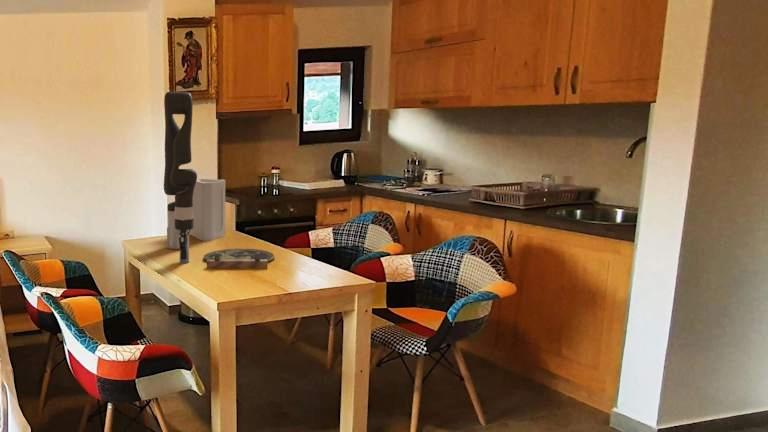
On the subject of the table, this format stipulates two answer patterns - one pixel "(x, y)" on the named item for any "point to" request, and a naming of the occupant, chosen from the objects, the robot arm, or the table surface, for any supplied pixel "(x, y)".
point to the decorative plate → (239, 254)
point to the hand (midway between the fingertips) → (184, 258)
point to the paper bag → (208, 209)
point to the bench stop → (237, 262)
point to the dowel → (187, 255)
